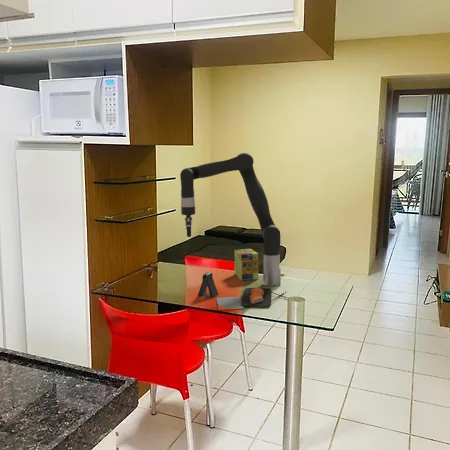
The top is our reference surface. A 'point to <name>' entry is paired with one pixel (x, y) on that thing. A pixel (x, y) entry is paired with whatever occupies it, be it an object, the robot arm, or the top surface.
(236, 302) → the mat
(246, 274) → the protein box
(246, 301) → the sushi plate
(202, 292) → the phone stand
